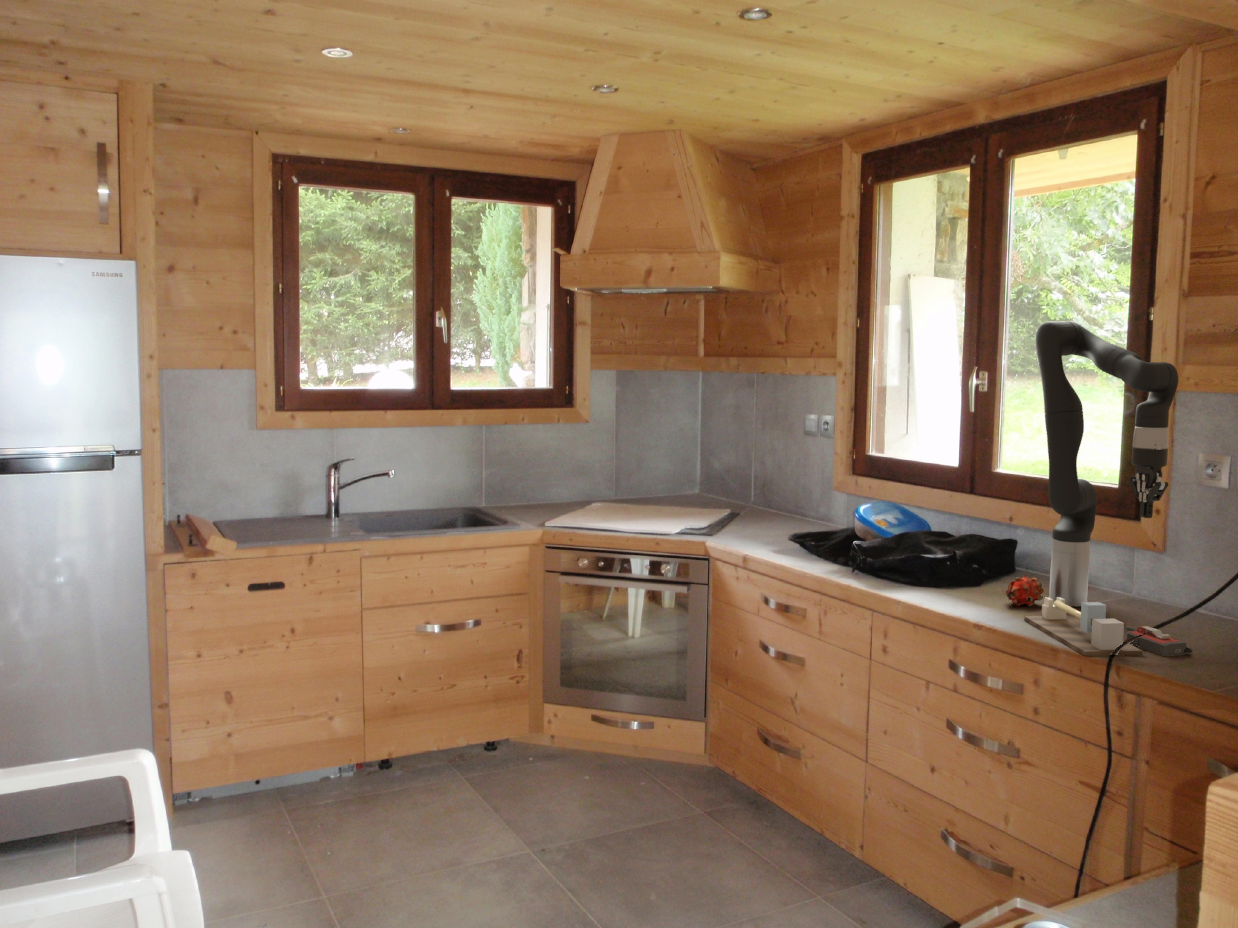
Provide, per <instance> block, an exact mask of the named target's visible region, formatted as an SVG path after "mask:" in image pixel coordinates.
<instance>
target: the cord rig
mask: <svg viewBox="0 0 1238 928" xmlns="http://www.w3.org/2000/svg"><path fill="white" fill-rule="evenodd" d="M1067 614H1068V615H1070V616H1075V617H1076V618H1078V619H1080V620H1081V610H1077V609H1076V608H1074V607H1073V606H1068V605H1066V604H1065V599H1063V598H1061V597H1056V601H1055V602H1054V603H1053V599H1051V598H1049V596H1048V597H1047V596H1046V597H1044V599H1043V604H1041V616H1042V617H1043V618H1044V619H1046V620H1048V619H1066V616H1067ZM1091 625H1092V638H1091V645H1092V646H1094V647H1096V648H1098V649H1099V650H1115V649H1116V648H1117V647H1119V646H1120V645H1122V644H1123V641H1124V629H1125V623H1124V622H1122V621H1120V620H1118V619H1116V618H1106V619H1095V618H1091ZM1121 650H1123V648H1122V649H1121Z"/></svg>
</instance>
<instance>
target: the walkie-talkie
mask: <svg viewBox="0 0 1238 928" xmlns="http://www.w3.org/2000/svg"><path fill="white" fill-rule="evenodd" d="M1126 630H1127V632H1126V641H1127V640H1128V639H1131V638H1134V637H1136V636H1139V635H1143V634H1144V633H1147V632H1150V633H1148V634H1145V635H1143V636H1141V637H1140V638H1137V639H1135V640H1134V641H1133V642H1131V643H1130V645H1131V644H1133V645H1132V646H1134V645H1137V646H1139V647H1142V648H1143V649H1142V648H1141V649H1142V650H1145V649H1146V650H1145V651H1148V650H1149V651H1148V652H1151V653H1154V654H1156V653H1157V654H1156V655H1159V656H1162V657H1173V656H1185V655H1186V654H1191V653H1193V649H1192V648H1190V647H1187V643H1186V642H1184V641H1182V640H1178V639H1175V638H1172V637H1171V634H1167V633H1166V634H1164V633H1163V632H1162V631H1161V630H1160V629H1159V628H1158V629H1157V628H1155V627H1152V626H1148V625H1143V626H1138V627H1137V628H1135V627H1133V626H1129V625H1127V626H1126ZM1139 647H1138V648H1139Z"/></svg>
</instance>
